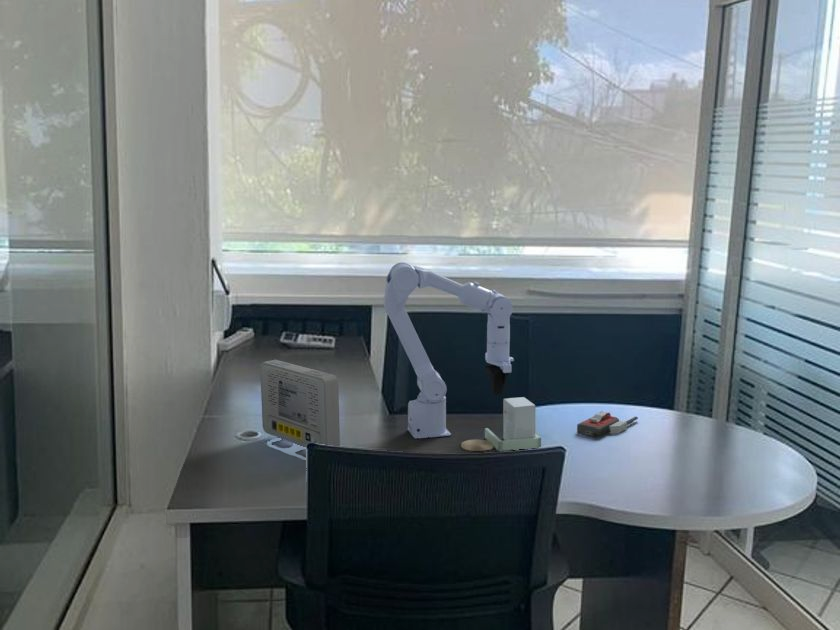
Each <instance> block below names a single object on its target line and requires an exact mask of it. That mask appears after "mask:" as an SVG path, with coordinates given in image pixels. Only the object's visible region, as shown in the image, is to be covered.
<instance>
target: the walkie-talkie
mask: <svg viewBox="0 0 840 630" xmlns="http://www.w3.org/2000/svg"><path fill="white" fill-rule="evenodd" d="M637 420H639V417H638V416H633V417H632V418H630V419H627V420H626V421H621V420H620V419H619V418H618V417H616V416H612V415H611V412H607V411H603V410H602V411H600V412H597V413H595V414H594V416H592V417H589V418H588V419H586V420H583V421H582V422H580V423H577V425H576V427H577V428H576V433H578V434H577V435H580V434H581V436H584V435H585V436H586V437H591V438H594V439H600V438H602V437H604V436H606V435H608V434H609V435H612V434H613V435H614V434H620V433H622V432H624V431H626V430H627V427H628V426H629V425H630V424H633V423H634V422H635V421H637ZM585 436H584V437H585Z"/></svg>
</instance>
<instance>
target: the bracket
mask: <svg viewBox="0 0 840 630" xmlns="http://www.w3.org/2000/svg"><path fill="white" fill-rule="evenodd" d="M484 440H487V441H490V442H491V443H492V444H493V445H494V449H496V451H498V450H499V451H502V450H510V449H513V450H515V451H520V450H519V449H525V450H532V449H531V448H535V449H540V448H539V447H541V448H542V438H541V436H540V435H538V434H537V433H535V438H524V439H513V440H504V439H503V440H502V439H500V438H499V437H498V436H497V435H496V434H495V433H494V432H493V431H492V430H491V429H489V428H488V427H486V428H484ZM499 451H498V452H499Z"/></svg>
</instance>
